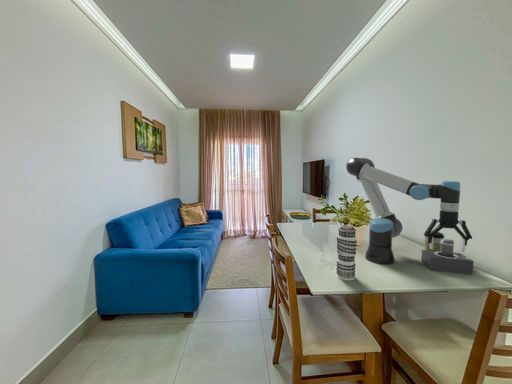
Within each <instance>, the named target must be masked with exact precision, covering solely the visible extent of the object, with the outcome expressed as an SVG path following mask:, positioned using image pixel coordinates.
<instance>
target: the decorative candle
mask: <svg viewBox="0 0 512 384" xmlns="http://www.w3.org/2000/svg"><path fill="white" fill-rule="evenodd" d="M356 232H357V229H356V228H355V227H354V226H352V225H347V224H346V225H345V224H343V225H341V226H340V227H339V228H338V235H337V238H336V241H337V242H336V248H337V250H336V253H337V261H336V272H335V273H336V277H337V278H338V279H339V280H342V281H343V280H344V281H348V282H349V281H354V280H355V279H356V277H355V276H356V274H355V273H356V260H355V259H356V257H355V256H356V255H357V248H356V247H357V246H358V244H357V243H358V241H357V239H356V237H357V236H356Z"/></svg>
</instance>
